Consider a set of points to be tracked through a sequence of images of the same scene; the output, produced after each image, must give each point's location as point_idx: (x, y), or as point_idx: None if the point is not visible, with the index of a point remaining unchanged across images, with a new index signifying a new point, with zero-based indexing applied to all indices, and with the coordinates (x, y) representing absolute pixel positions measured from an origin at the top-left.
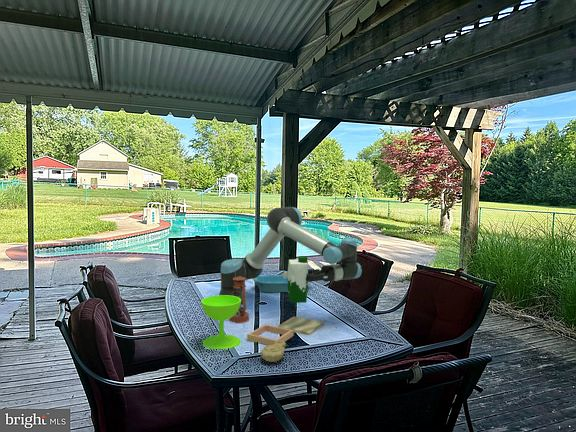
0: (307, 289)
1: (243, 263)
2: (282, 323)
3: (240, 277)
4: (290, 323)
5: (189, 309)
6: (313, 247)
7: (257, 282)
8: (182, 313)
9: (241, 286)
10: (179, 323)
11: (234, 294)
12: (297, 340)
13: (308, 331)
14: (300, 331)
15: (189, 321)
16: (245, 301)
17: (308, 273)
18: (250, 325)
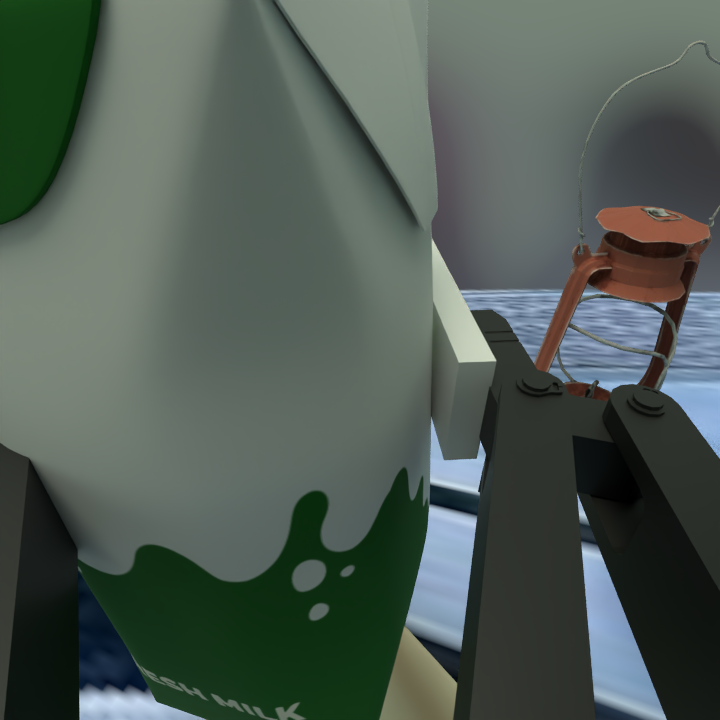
0: (126, 645)
1: (633, 79)
2: (415, 641)
3: (644, 213)
4: (397, 710)
5: (713, 329)
6: None
7: None
8: (651, 311)
9: (597, 272)
10: (530, 300)
11: (660, 330)
12: (104, 649)
13: None
14: None
15: (551, 318)
16: (541, 363)
17: (458, 713)
18: (469, 475)
